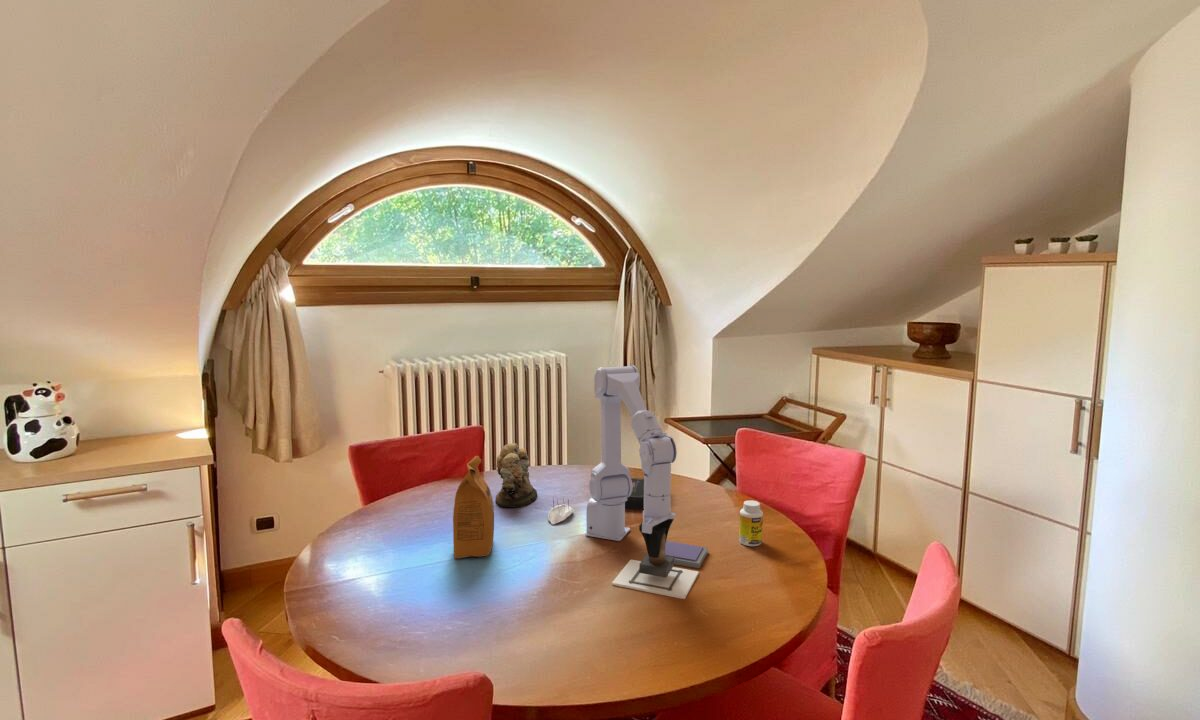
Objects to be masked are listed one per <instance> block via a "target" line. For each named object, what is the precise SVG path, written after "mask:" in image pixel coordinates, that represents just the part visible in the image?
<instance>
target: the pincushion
mask: <svg viewBox="0 0 1200 720" xmlns="http://www.w3.org/2000/svg"><path fill="white" fill-rule="evenodd" d="M554 498H555V497H554V496H553V501H552V502H553V507H552V508H551V509H550V510H549V512H548V515H547V519H548V520H549V522H550V524H551V525H555V524H558V523H560V522H562V521H565V520H566V519H567V518H568V517H570V516H571V514H573V513H574V509H573V508H572V506H571V505H569V504H570V503H569V502H570V501H569V498H567V504H565V500H564V499H565V498H564V497H563V498H562V499H563V503H562V504H560V505H559V503H558V501H559V498H558V497H557V505H555V504H554V503H555V502H554V501H555V500H554Z"/></svg>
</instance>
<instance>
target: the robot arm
mask: <svg viewBox="0 0 1200 720" xmlns="http://www.w3.org/2000/svg"><path fill="white" fill-rule="evenodd" d="M593 379H594V380H593V382H594V383H593V385H594V390H593V391H594V397H595V399H598V400H599V401H600V402H599V403H600V434H601V435H600V437H601V438H600V439H601V443H600V444H601V447H600V448H601V461H600V463H598V464H597V465H596V466H595V467H593V468H592V470H591V473H590V480H589V486H588V487H589V493H590V496H591V497H590V498H589V500H588V502H587V505H586V513H585V514H586V532H585V534H584V535H585V536H586V537H593V538H599V539H604V540H610V541H617V542H620V541H622V540H623V538H624V537H625V536H626V535H627V534H628V533H629V532H630V530H631V528H630V527H625V526H626V523H625V521H626V509H625V501H627V497H629V496H630V495H631V493H632V480H631V478H632V477H631V476H632V475H631V471H630V468H628V467H627V465H626V464H623V463H622V440H621V438H622V436H621V435H622V432H621V429H622V428H621V427H622V426H621V402H623V404H624V406H625V407H626V409H627V411H628V412H629V414H630V416H631V420H630V426H631V428H632V431H633V433H634V435H635V438H636V439H637V441H638V444H639V448H638V449H639V450H638V451H639V457H640V462H641V470H642V472H643V479H644V510H642V521H643V522H641V523H640V524H639V525H638V526H639V527H638V528H639V529H638V531H639V532H640V533H641V535H642V538H643V540H644V544H645V547H646V551H647V553H648V556H649V557H655V558H658V557H659V554H660V548H661V542H662V538H663V535H664V533H665V534H666V541H667V539H668V535H669V531H670V528H671V526H672V523H673V522H674V519H675V518H676V516H677V515H676V513H675V512H672V510H671V506H672V505H671V503H672V502H671V495H672V494H671V493H672V492H671V491H672V488H671V487H672V486H671V485H672V482H671V481H672V464H674V463H675V461H676V459H677V454H678V453H677V452H678V451H677V446H676V442H675V440H674V438H673V437H672V436H671V435H669V434H668V433H667V432H664V431H663V429H662V427H661V425H660V423H659V420H658V419H657V417H656V415H655V414H654V413H653V412H652V411H651V410H647V408H646V404H645V401H644V398H643V397H642V394H641V392H640V387H641V386H640V384H641V374H640V372H639V369H638V368H637V367H636V365H628V366H614V367H613V366H609V367H603V366H599V367H598V368H597V370H596V371H595V373H594V377H593ZM666 541H665V544H666Z"/></svg>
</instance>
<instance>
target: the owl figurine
mask: <svg viewBox="0 0 1200 720" xmlns="http://www.w3.org/2000/svg"><path fill="white" fill-rule="evenodd" d="M529 466H530V460H529V456H528V453H527V450H526V449H525V448H520V446H519V445H518V444H517V443H515V442H512V443H507V444H504V446H502V448H501V450H500V452H499V454H498V456H497V457H496V470H497V474H498V475H499V476H500V479H502V483H501V489H500V490H499V492H497V494H496V495H495V504H496V505H497V506H498V507H502V508H518V509H519V508H524V507H526V506H528V505H530V504H532V503H533V502H535V501H536V499H537V497H538V492H537V490H536V488H534V487H533V485H532V484H531V481H530V472H529Z"/></svg>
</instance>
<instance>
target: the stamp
mask: <svg viewBox="0 0 1200 720" xmlns="http://www.w3.org/2000/svg"><path fill="white" fill-rule="evenodd" d="M665 541H667V539H666V534H665V533H664V535H663V538H662V542H661V548H660V554H659V557H658V558H655V557H649V556H648V552H647V553H646V554H645V556H644V557H643V558H642V559H641V560H640V561H641V563H640V564H639V573H643V574H649V575H654V576H660V577H665V578H666V577H667V576H668V574H669V573H670V571H671V569H672V568H673V567H674V566H675V564H674V557H672V556H666V555H665Z"/></svg>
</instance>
